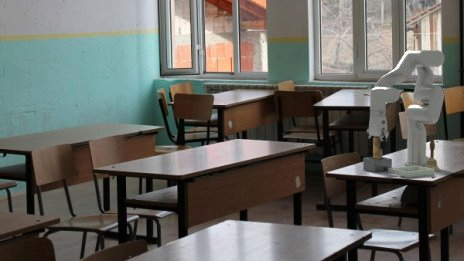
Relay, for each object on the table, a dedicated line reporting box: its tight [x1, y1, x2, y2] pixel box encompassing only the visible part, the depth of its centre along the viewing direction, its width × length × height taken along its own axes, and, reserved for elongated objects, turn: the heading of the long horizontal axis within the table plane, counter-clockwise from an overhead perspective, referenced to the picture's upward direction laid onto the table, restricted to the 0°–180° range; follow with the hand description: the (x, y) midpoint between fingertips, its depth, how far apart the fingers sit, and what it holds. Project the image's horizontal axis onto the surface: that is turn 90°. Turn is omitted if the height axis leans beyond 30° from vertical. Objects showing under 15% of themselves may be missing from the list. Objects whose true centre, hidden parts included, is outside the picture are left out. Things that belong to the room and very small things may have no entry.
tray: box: [387, 165, 436, 179], centre depth 423 cm, size 17×14×3 cm
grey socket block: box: [362, 156, 393, 173], centre depth 431 cm, size 10×10×7 cm
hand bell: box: [425, 138, 441, 173], centre depth 434 cm, size 8×8×16 cm
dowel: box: [372, 137, 383, 160], centre depth 430 cm, size 4×4×16 cm
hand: (377, 148), depth 430 cm, fingers open, 9 cm apart
